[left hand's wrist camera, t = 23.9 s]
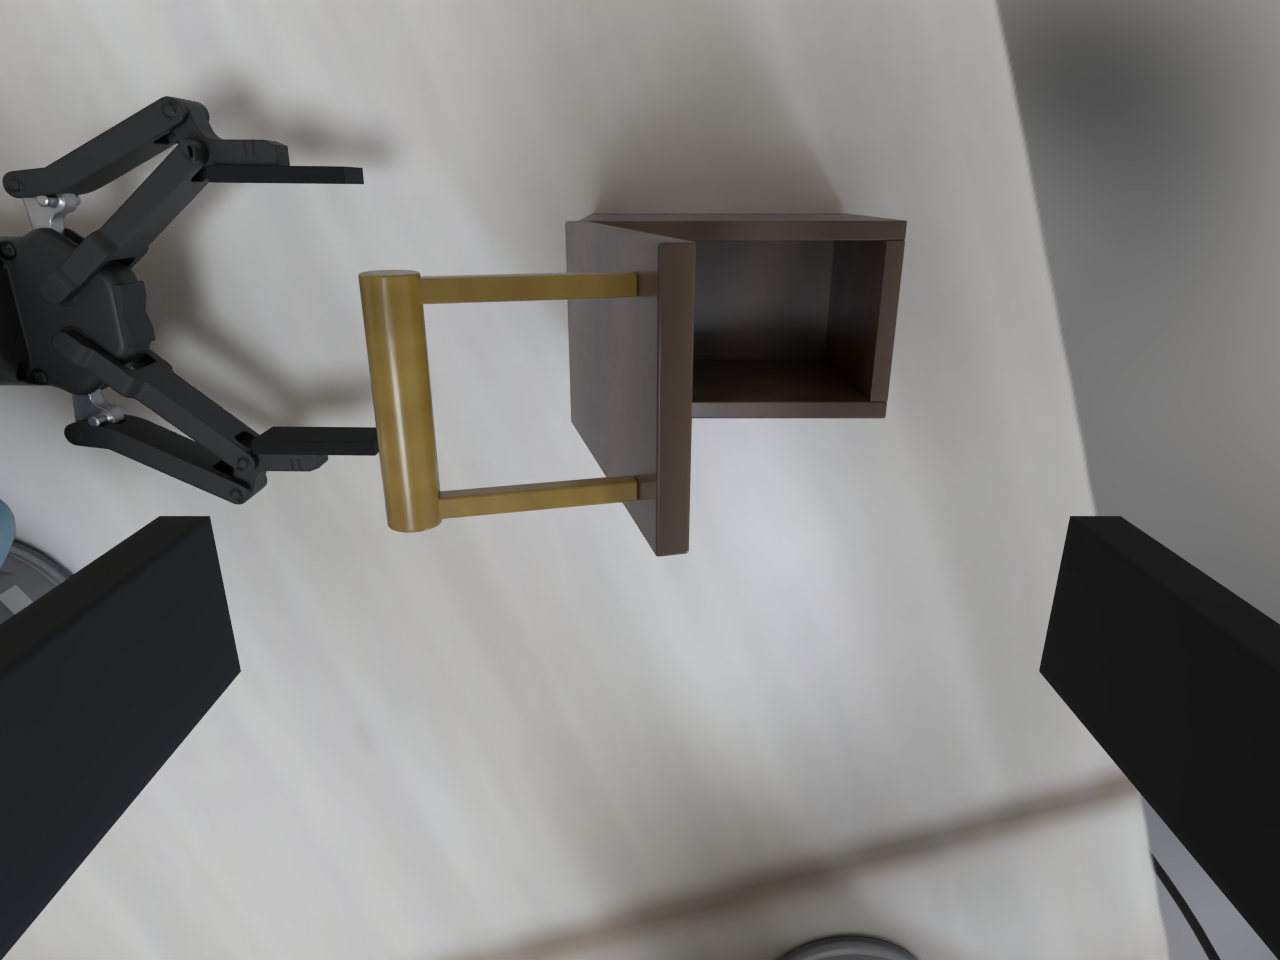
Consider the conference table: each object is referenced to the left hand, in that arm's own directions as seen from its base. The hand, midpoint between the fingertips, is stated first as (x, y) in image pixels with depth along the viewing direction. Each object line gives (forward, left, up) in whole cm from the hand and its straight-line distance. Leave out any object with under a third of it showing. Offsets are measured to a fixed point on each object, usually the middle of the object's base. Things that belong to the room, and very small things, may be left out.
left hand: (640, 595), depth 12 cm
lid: (0, 0, -19) cm, 19 cm away
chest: (-4, -2, -38) cm, 38 cm away
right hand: (+13, +6, -31) cm, 34 cm away
